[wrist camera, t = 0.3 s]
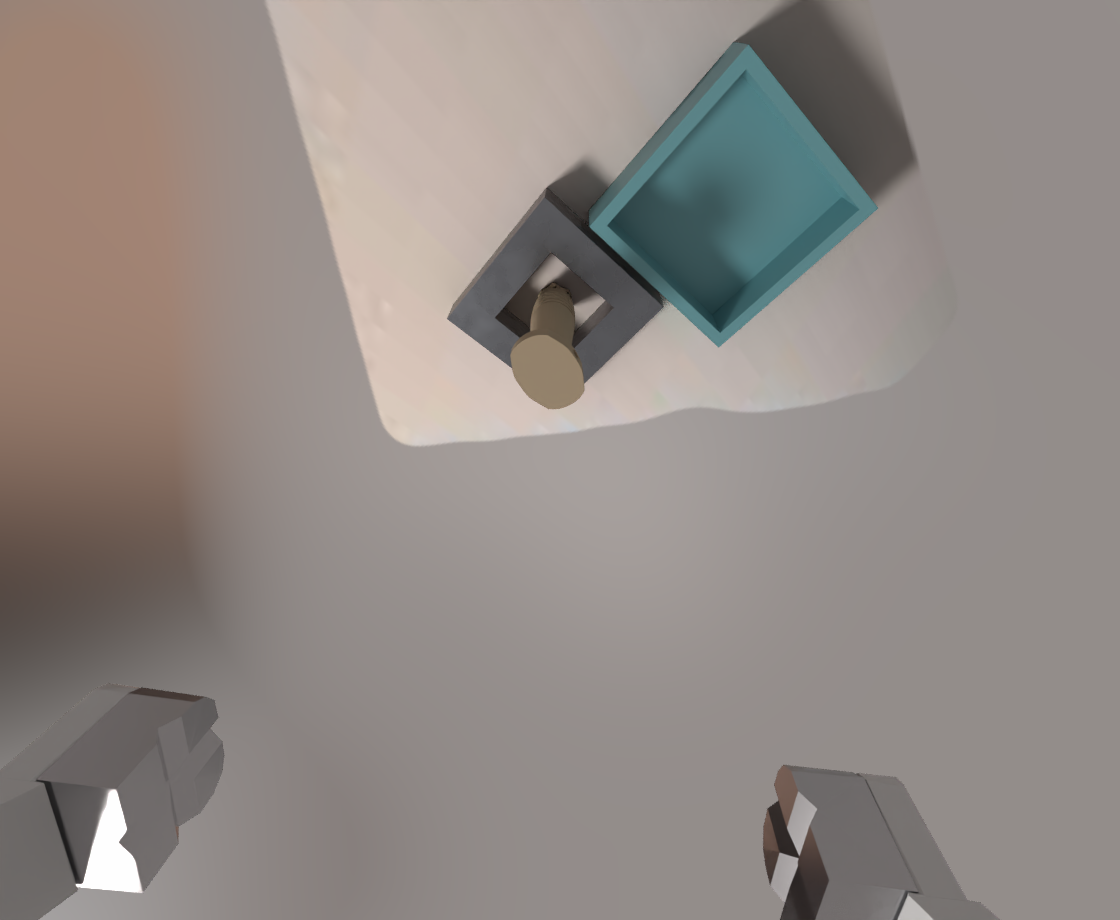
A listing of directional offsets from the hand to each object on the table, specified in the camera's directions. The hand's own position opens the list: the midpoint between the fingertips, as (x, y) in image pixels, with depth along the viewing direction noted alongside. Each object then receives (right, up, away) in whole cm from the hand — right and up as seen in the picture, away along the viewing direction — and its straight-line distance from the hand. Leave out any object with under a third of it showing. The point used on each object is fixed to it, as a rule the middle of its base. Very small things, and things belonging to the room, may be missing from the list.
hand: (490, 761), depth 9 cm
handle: (+1, +20, +48) cm, 52 cm away
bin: (+15, +27, +43) cm, 52 cm away
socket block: (+1, +20, +48) cm, 52 cm away
